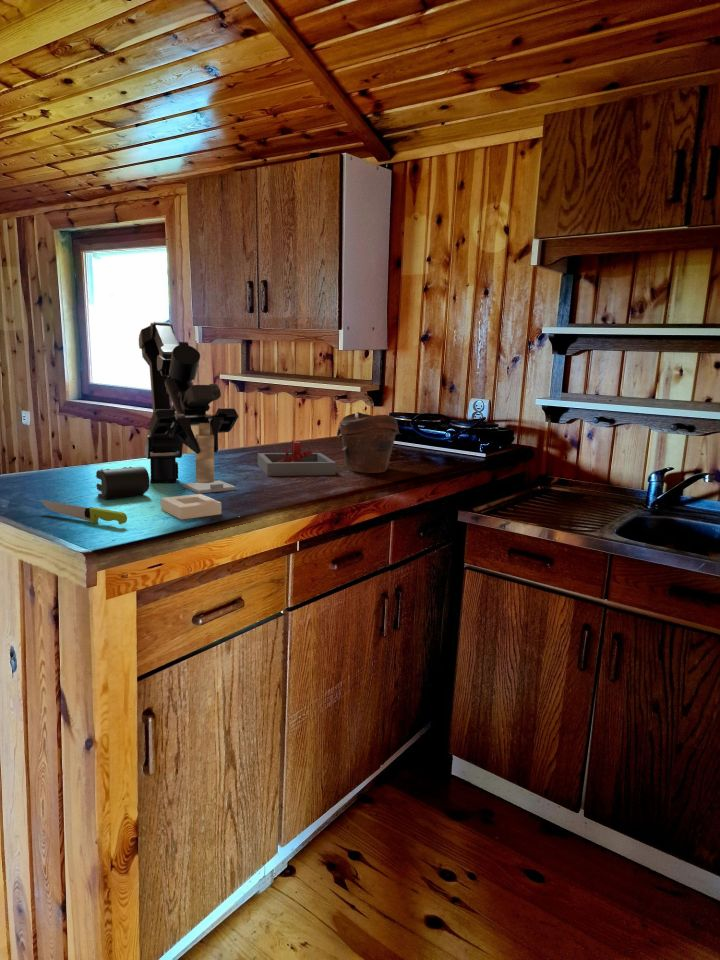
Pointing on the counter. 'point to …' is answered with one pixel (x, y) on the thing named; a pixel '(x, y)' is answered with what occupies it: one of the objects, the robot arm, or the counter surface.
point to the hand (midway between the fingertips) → (207, 451)
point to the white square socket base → (190, 506)
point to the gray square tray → (296, 465)
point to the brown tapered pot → (367, 441)
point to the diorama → (296, 453)
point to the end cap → (122, 482)
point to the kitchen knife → (86, 512)
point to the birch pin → (205, 455)
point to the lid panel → (209, 487)
